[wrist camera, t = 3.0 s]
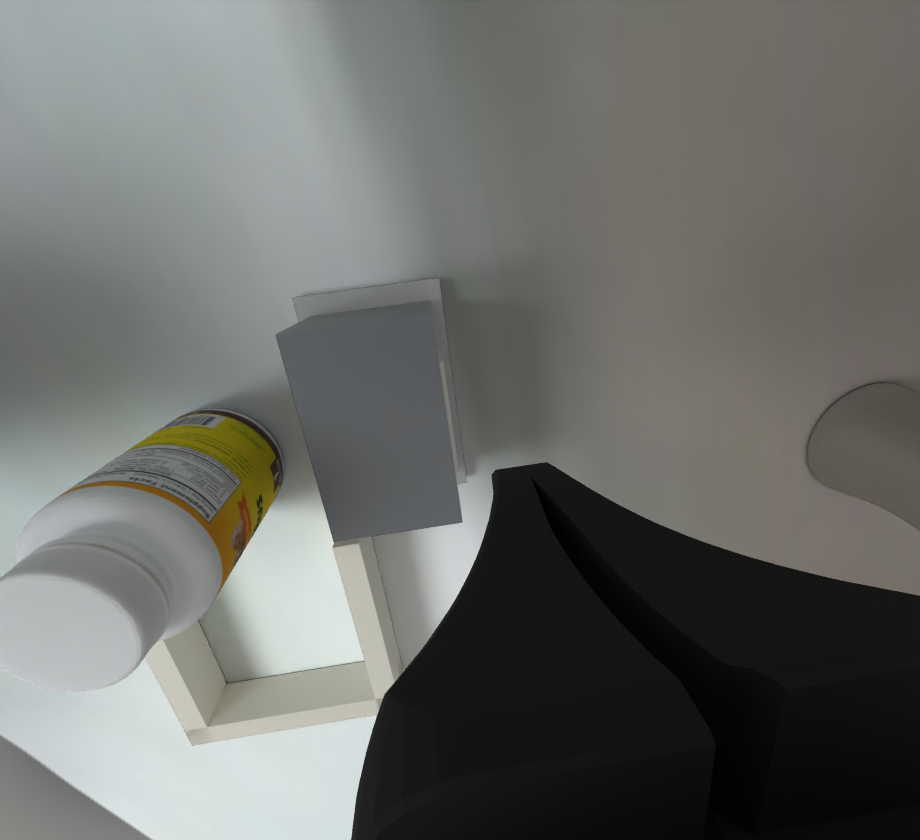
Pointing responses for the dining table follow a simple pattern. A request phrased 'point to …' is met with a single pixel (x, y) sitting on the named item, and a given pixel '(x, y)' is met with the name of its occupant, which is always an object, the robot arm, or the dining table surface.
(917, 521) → the beer glass
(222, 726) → the tray
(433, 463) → the box
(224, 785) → the dining table surface
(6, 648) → the supplement bottle
